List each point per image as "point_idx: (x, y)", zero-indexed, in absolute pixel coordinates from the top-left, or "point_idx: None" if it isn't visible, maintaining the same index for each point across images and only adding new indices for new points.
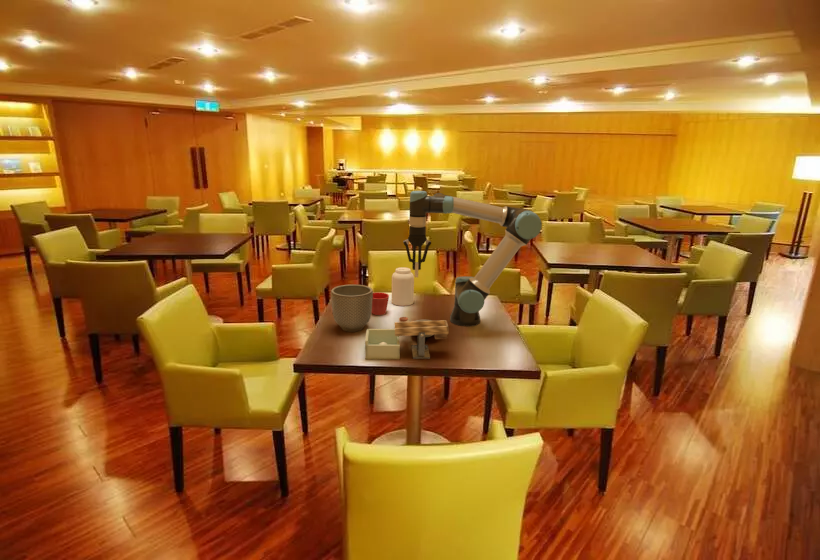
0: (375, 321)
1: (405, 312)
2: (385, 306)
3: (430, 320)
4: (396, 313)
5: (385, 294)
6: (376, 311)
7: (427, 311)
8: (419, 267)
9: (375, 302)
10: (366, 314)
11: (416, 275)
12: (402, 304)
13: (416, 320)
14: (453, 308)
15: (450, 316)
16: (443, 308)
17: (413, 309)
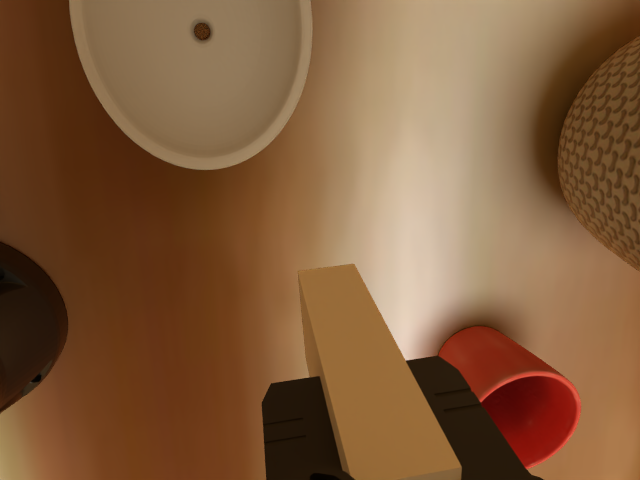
0: (492, 239)
1: None
2: (457, 367)
3: (165, 154)
4: None
5: None
6: (494, 333)
7: (217, 418)
8: (298, 423)
9: (530, 358)
10: (634, 67)
11: (333, 281)
12: None
13: (266, 144)
14: (14, 358)
15: (55, 322)
16: (132, 473)
17: None
